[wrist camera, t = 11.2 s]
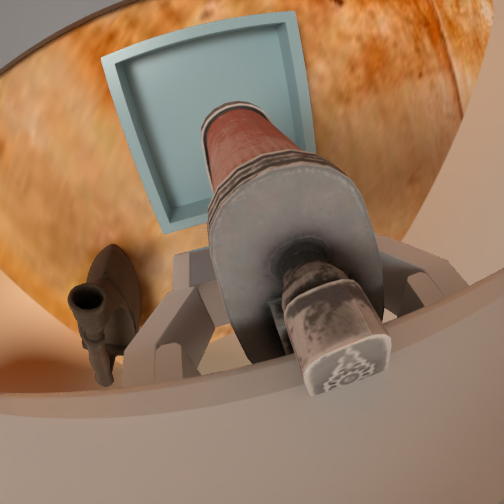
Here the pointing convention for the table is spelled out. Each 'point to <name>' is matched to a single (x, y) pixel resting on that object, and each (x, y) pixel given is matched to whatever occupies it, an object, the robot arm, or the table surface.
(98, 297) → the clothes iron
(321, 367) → the lighter
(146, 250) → the table surface
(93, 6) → the gray plate with hole
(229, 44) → the parts tray
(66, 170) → the table surface
